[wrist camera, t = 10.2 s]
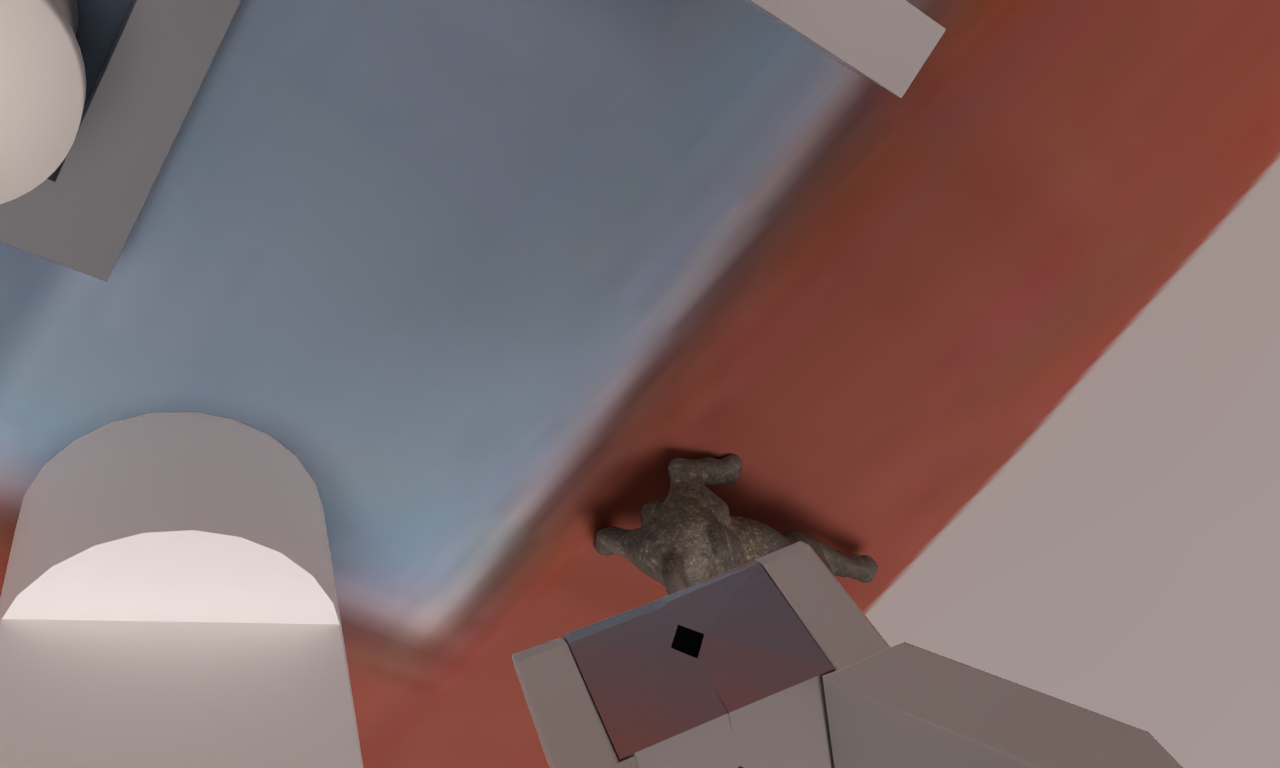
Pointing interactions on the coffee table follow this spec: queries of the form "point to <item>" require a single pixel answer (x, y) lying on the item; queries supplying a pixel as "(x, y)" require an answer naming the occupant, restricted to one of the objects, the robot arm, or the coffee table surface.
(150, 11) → the socket
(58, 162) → the plug
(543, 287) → the coffee table surface
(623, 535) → the dog figurine
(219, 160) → the coffee table surface
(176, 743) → the cylinder with rectangular tab
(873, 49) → the grey square bar
